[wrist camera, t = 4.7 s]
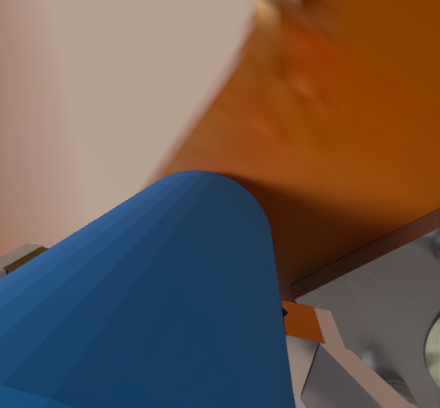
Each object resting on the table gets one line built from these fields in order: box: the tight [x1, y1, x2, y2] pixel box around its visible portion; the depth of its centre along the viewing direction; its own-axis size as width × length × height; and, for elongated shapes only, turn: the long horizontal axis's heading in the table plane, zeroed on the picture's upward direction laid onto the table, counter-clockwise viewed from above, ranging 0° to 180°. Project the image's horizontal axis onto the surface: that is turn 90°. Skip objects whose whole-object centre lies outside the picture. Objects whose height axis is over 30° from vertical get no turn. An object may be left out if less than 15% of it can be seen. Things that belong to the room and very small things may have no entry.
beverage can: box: [0, 170, 295, 408], centre depth 8 cm, size 6×6×12 cm
